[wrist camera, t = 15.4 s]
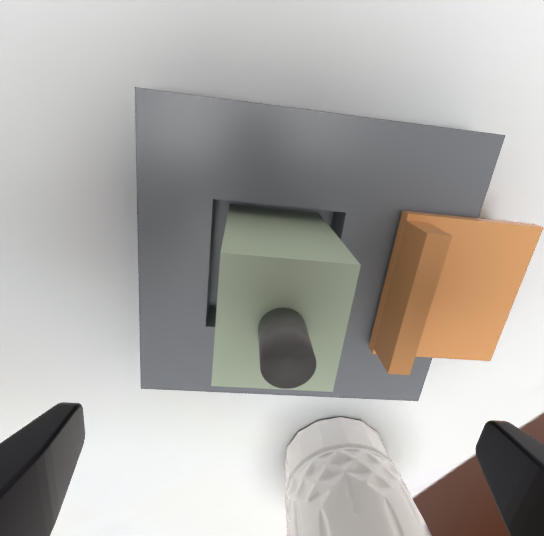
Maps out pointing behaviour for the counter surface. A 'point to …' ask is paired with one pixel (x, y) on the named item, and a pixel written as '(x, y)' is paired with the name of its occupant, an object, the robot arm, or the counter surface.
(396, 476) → the white cup
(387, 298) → the shutter
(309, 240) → the plug
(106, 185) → the counter surface
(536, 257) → the counter surface
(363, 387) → the socket
